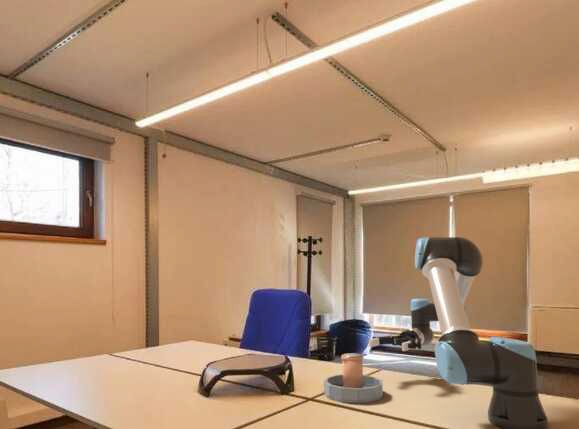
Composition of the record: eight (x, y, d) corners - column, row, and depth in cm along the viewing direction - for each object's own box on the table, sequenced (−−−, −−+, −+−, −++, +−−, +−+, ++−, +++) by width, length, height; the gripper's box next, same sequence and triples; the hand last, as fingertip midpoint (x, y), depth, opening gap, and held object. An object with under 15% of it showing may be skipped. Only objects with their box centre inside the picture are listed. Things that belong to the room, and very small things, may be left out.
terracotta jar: (363, 395, 145) (362, 357, 146) (341, 393, 147) (340, 356, 148) (364, 388, 152) (363, 353, 154) (343, 387, 154) (342, 352, 156)
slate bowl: (381, 405, 137) (381, 390, 138) (320, 401, 142) (320, 386, 143) (383, 388, 156) (383, 375, 157) (329, 385, 161) (329, 372, 162)
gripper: (441, 351, 166) (418, 359, 150) (383, 345, 182) (357, 352, 166) (440, 331, 167) (417, 337, 151) (383, 327, 183) (356, 332, 167)
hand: (385, 345), depth 158 cm, fingers open, 13 cm apart
